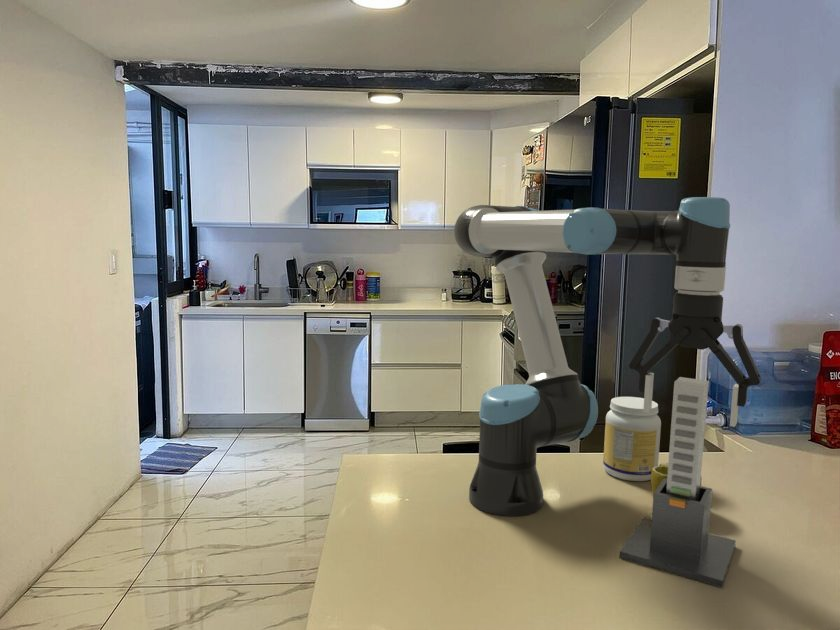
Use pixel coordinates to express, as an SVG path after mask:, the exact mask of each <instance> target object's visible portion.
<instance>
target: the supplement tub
mask: <svg viewBox="0 0 840 630" xmlns="http://www.w3.org/2000/svg"><path fill="white" fill-rule="evenodd" d="M609 408H610V410H609V411H607V413H606V415H605V427H604V445H603V461H602V465H603V469H604V471H605V472H606V473H607V474H608V475H611V476H612V477H614V478H617V479H620V480H624V481H629V482H647V481H651V473H652V469H653V468H654V467H657V466H659V460H660V459H659V458H660V456H659V455H660V444H661V443H660V441H661V430H662V428H661V427H662V420H661V418H660V416H659V415H658V413H659V404H658V403H657V402H656V401H654V400H652V408H651V410H650V411H649V412H648V413H647V412H643V409H644V397H637V396H616V397H613V398H611V400H610V405H609Z"/></svg>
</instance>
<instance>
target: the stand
mask: <svg viewBox="0 0 840 630" xmlns="http://www.w3.org/2000/svg"><path fill="white" fill-rule="evenodd" d="M666 489H667V479H665V478H664V479H663V480H662V482H661V483H660V485H659V486H658V488H657V489H656V490H655V492H654V495H653V494H652V509H651V510H652V511H651V512H652V513H651V518H649V517H646V516H642V518H641V519H640V520H639V522H638V524H637V525H636V527H635V528H634V530H633V531H632V533H631V534H630V536H629V537H628V539H627V540H626V542H625V543H624V544H623V546H622V547H621V549H620V551H619V559H623V560H626V561H629V562H632V563H635V564H638V565H642V566H646V567H648V568H652V569H656V570H660V571H663V572H666V573H670V574H673V575H676V576H681V577H683V578H687V579H690V580H693V581H697V582H700V583H704V584H706V585H710V586H713V587H716V588H717V587H718V588H720V589H723V587H724V584H725V581H726V578H727V575H728V571H729V567H730V564H731V562H732V558H733V554H734V552H735V548H736V540H735V539H732V538H728V537H724V536H720V535H716V534H712V533H709V531H710V529H709V528H710V522H711V521H710V519H711V518H710V517H711V508H712V507H711V505H712V493H713V488H710V487H706V486H702V485H701V486H700V495H699V502H698V501H694V500H690V499H685V498H681V497H677V496H672V495H668V494H666Z"/></svg>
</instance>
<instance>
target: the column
mask: <svg viewBox="0 0 840 630" xmlns="http://www.w3.org/2000/svg"><path fill="white" fill-rule="evenodd" d="M673 383H674V384H673V393H672V394H673V395H672V398H673V399H672V409H671V423H670V435H669V437H670V438H669V447H668V449H669V450H668V451H669V452H668V475H667V489H666V494H668V495H672V496H677V497H681V498H685V499H690V500H694V501H698V502H699V495H700V483H701V484H702V480H701V478H702V471H703V469H702V467H703V456H704V455H703V454H704V446H705V445H704V444H705V443H704V442H705V432H706V422H707V420H706V417H707V407H708V405H707V404H708V392H709V383H710V382H709V380H707V379H706V380H704V379H698V378H691V377H684V376H679V377H678V378H677V379H676V380H674V382H673Z"/></svg>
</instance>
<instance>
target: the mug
mask: <svg viewBox="0 0 840 630" xmlns="http://www.w3.org/2000/svg"><path fill="white" fill-rule="evenodd" d="M667 475H668V463H667V462H665V463H660V464H658V466H657V467H654V468H653V469H652V473H651V480H650V482H651V483H650V484H651V493H652V496H653V495H654V492H655V490H656V489H657V488H658V486H659V485H660V483H661V482H662V480H663V479H664V478H665V479H667ZM701 481H702V477H701ZM700 486H702V482H701V483H700Z"/></svg>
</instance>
